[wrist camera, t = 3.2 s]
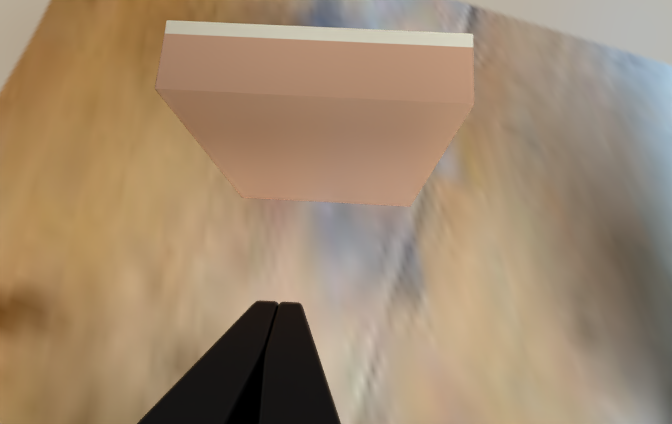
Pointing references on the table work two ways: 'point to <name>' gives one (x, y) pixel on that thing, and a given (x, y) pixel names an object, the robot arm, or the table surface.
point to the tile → (318, 106)
